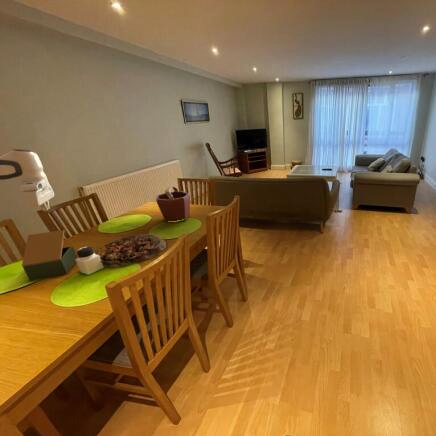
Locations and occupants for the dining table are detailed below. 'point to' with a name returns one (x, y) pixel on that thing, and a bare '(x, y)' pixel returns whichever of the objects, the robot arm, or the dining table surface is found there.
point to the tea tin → (52, 266)
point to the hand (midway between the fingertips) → (46, 210)
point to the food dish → (131, 250)
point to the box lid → (43, 247)
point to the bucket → (174, 204)
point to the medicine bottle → (88, 260)
